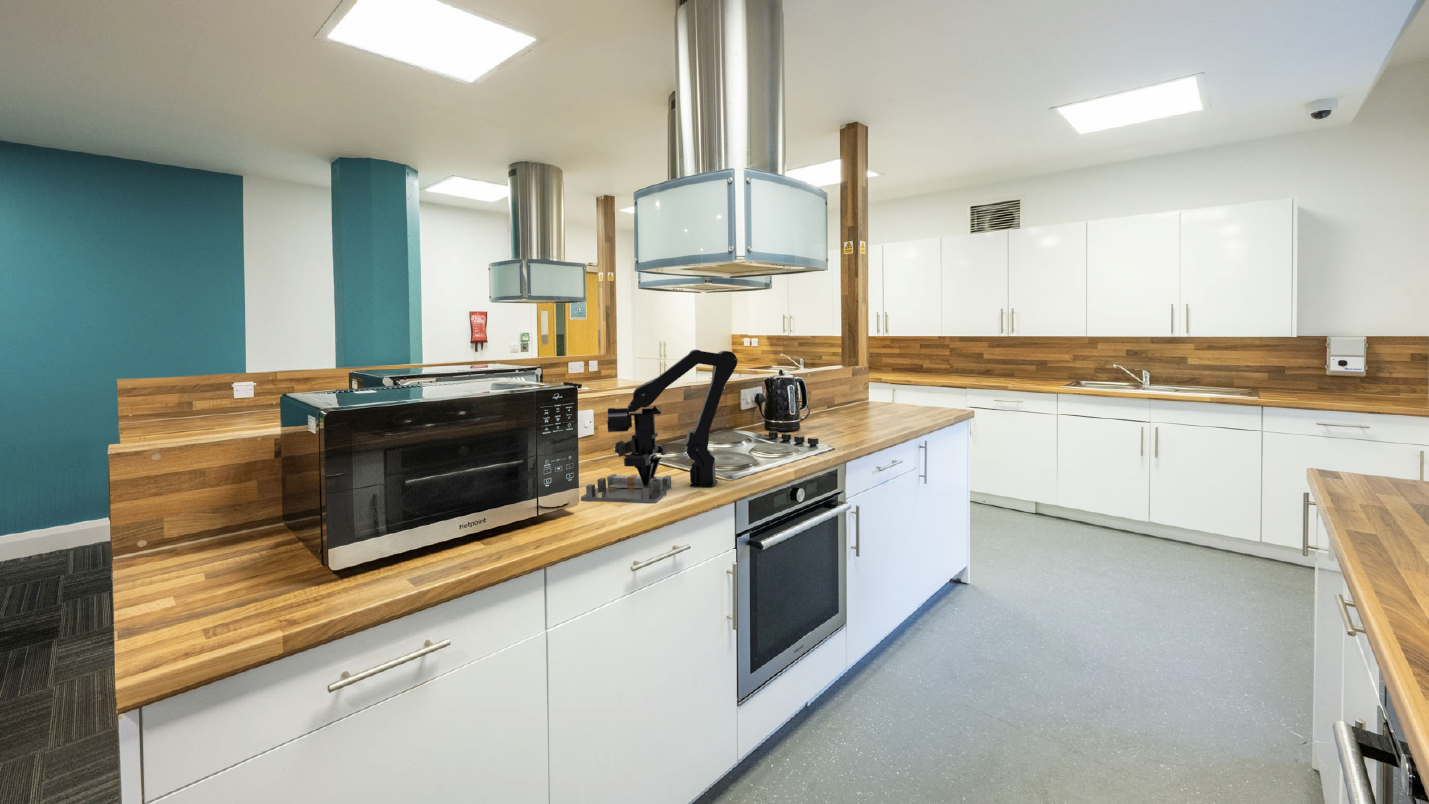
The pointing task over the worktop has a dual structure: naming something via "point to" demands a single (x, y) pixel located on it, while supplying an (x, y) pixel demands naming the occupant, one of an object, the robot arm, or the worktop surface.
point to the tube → (637, 481)
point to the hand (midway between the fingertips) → (647, 484)
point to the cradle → (623, 493)
